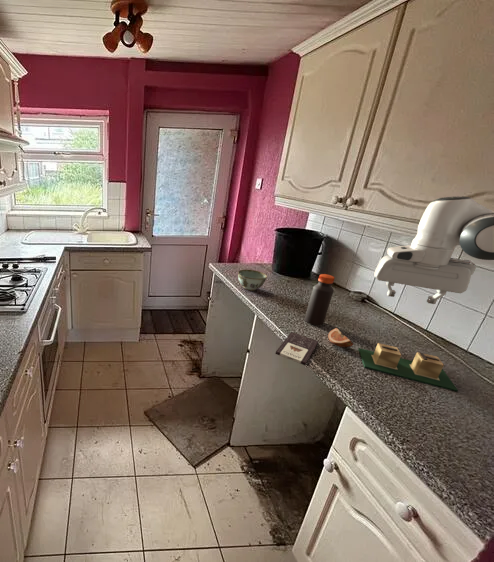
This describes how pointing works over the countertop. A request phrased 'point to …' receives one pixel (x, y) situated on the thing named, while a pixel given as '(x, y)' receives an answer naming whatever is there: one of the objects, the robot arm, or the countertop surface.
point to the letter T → (427, 365)
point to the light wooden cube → (386, 355)
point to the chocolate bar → (297, 348)
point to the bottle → (320, 300)
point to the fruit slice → (339, 338)
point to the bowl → (251, 279)
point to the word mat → (406, 371)
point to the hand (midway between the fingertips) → (409, 299)
